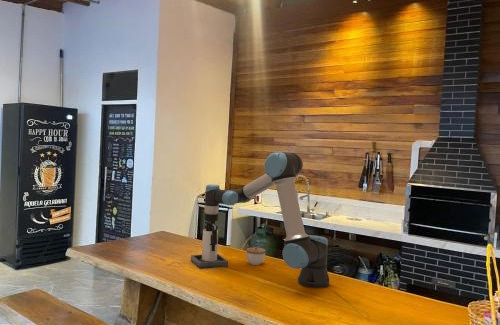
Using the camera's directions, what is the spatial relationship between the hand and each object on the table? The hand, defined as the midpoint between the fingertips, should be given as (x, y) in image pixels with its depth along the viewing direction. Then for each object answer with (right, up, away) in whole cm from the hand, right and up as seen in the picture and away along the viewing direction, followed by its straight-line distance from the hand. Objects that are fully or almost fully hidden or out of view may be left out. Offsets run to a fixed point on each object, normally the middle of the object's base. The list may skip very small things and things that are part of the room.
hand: (209, 254), depth 232 cm
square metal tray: (0, -5, 0) cm, 5 cm away
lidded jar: (+25, -6, +5) cm, 26 cm away
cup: (0, -3, 0) cm, 3 cm away
